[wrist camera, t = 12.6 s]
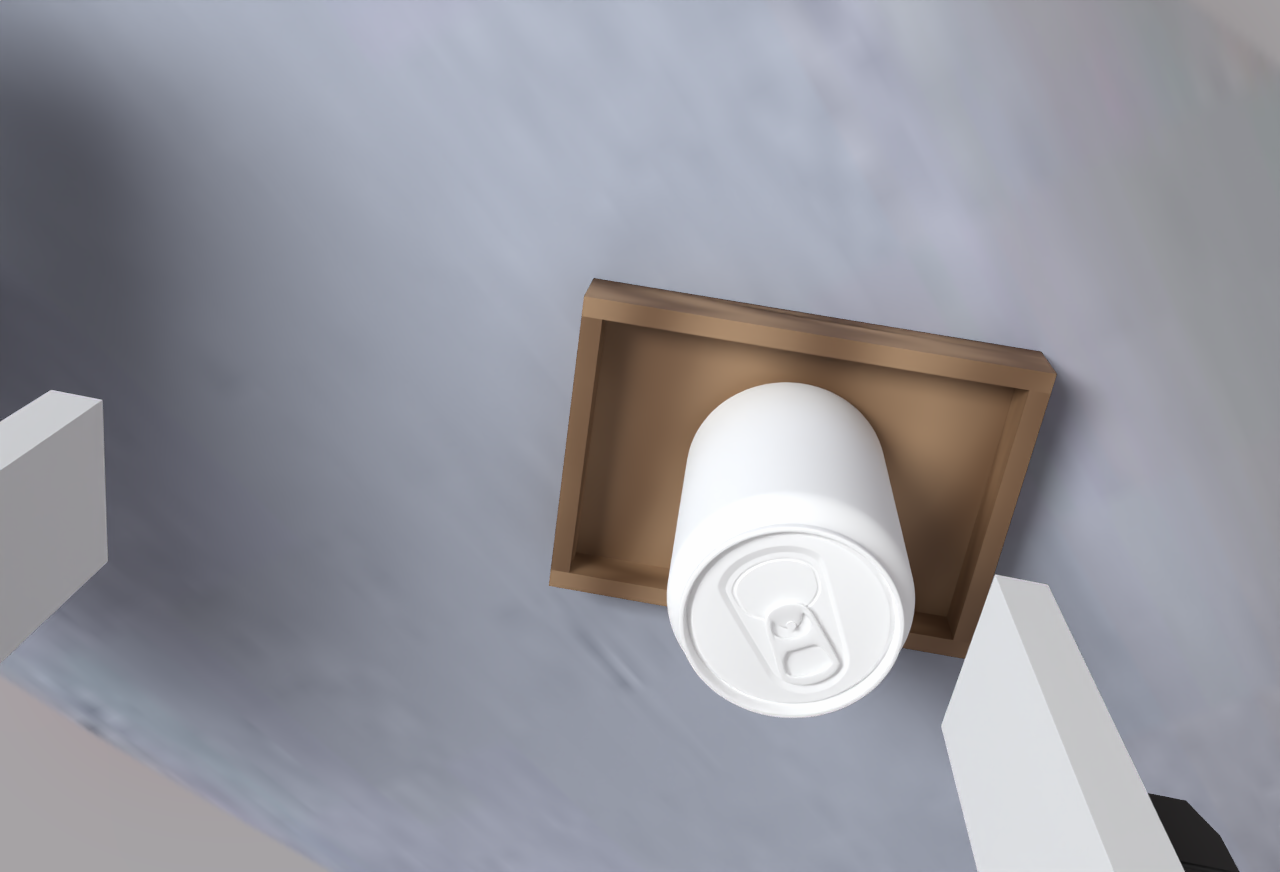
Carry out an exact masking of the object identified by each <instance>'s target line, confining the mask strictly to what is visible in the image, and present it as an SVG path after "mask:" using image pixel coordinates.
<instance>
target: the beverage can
mask: <svg viewBox="0 0 1280 872" xmlns="http://www.w3.org/2000/svg"><path fill="white" fill-rule="evenodd" d="M667 607H668V614H669V619H670V623H671V626H672V629H673V632H674V634H675V637H676V639H677V641H678V643H679V645H680V647H681V648H682V650H683V651H684V653H685V654H686V657H687V659H688V661H689V662H690V664H691V666H692V667H693V669H694V670H695V672H696V673H697V674H698V676H699V677H700V678H701V679H702V680H703V681H704V682H705V683H706V684H707V685H708V686H709V687H710V688H711V689H712V690H713V691H715V692H716V693H717V694H718V695H720V696H721V697H723V698H724V699H726V700H728V701H729V702H731V703H733V704H735V705H737V706H739V707H741V708H744V709H746V710H749V711H752V712H755V713H759V714H763V715H767V716H773V717H781V718H805V717H813V716H819V715H823V714H827V713H831V712H834V711H837V710H840V709H842V708H844V707H847V706H849V705H851V704H853V703H855V702H856V701H858V700H860V699H861V698H863V697H864V696H866V695H867V694H868V693H870V692H871V691H872V690H873V689H874V688H875V687H876V686H878V685H879V684H880V682H881V681H882V680H883V679H884V678H885V677H886V675H887V674H888V673H889V671H890V670H891V668H892V667H893V665H894V663H895V661H896V659H897V657H898V655H899V652H900V651H901V649H902V647H903V645H904V643H905V641H906V639H907V637H908V634H909V631H910V628H911V625H912V621H913V616H914V609H915V589H914V582H913V577H912V573H911V568H910V564H909V560H908V556H907V551H906V547H905V543H904V539H903V535H902V530H901V526H900V522H899V518H898V514H897V509H896V505H895V501H894V497H893V492H892V488H891V484H890V480H889V476H888V471H887V467H886V463H885V459H884V455H883V451H882V447H881V445H880V442H879V439H878V437H877V435H876V433H875V431H874V430H873V428H872V426H871V425H870V423H869V422H868V421H867V419H866V418H865V417H864V416H863V415H862V414H861V413H860V412H859V411H858V410H857V409H856V408H855V407H854V406H853V405H851V404H850V403H849V402H847V401H846V400H845V399H843V398H841V397H840V396H838V395H836V394H834V393H832V392H830V391H827V390H825V389H822V388H819V387H816V386H812V385H808V384H802V383H792V382H780V383H770V384H764V385H760V386H756V387H753V388H750V389H747V390H744V391H742V392H740V393H738V394H736V395H734V396H732V397H731V398H729V399H727V400H726V401H724V402H723V403H722V404H720V405H719V406H718V407H717V408H716V409H715V410H713V411H712V412H711V413H710V414H709V416H708V417H707V418H706V419H705V420H704V422H703V423H702V424H701V426H700V427H699V429H698V431H697V432H696V434H695V436H694V439H693V441H692V443H691V446H690V449H689V453H688V458H687V464H686V470H685V476H684V482H683V489H682V495H681V502H680V508H679V514H678V521H677V527H676V533H675V540H674V546H673V552H672V559H671V565H670V571H669V578H668V585H667Z"/></svg>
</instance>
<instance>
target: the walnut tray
mask: <svg viewBox="0 0 1280 872" xmlns="http://www.w3.org/2000/svg"><path fill="white" fill-rule="evenodd" d="M1056 375H1057V374H1056V372H1055V371H1054V369H1053V368H1052V367H1051V365H1050V364H1049V362H1048V361H1047V359H1046V358H1045V357H1044V355H1043V354H1042V352H1040V351H1034V350H1028V349H1022V348H1016V347H1010V346H1004V345H998V344H992V343H985V342H979V341H973V340H967V339H961V338H955V337H949V336H943V335H937V334H931V333H925V332H918V331H912V330H906V329H900V328H894V327H888V326H882V325H876V324H870V323H864V322H858V321H851V320H845V319H839V318H833V317H827V316H821V315H815V314H809V313H803V312H797V311H791V310H785V309H778V308H772V307H766V306H760V305H754V304H748V303H742V302H736V301H730V300H724V299H718V298H711V297H705V296H699V295H693V294H687V293H681V292H675V291H669V290H663V289H657V288H651V287H645V286H638V285H632V284H626V283H620V282H614V281H608V280H602V279H596V278H594V279H593V281H592V283H591V284H590V286H589V288H588V290H587V292H586V294H585V296H584V301H583V310H582V318H581V326H580V334H579V342H578V351H577V359H576V367H575V375H574V384H573V392H572V400H571V408H570V416H569V425H568V433H567V441H566V449H565V457H564V466H563V474H562V482H561V490H560V499H559V507H558V515H557V523H556V531H555V540H554V548H553V556H552V564H551V572H550V581H549V586H554V587H559V588H565V589H571V590H576V591H582V592H588V593H593V594H599V595H605V596H610V597H616V598H622V599H627V600H633V601H639V602H644V603H650V604H656V605H662V606H667V585H668V578H669V571H670V565H671V559H672V552H673V546H674V540H675V533H676V527H677V521H678V514H679V508H680V502H681V495H682V489H683V482H684V476H685V470H686V464H687V458H688V453H689V449H690V446H691V443H692V441H693V439H694V436H695V434H696V432H697V431H698V429H699V427H700V426H701V424H702V423H703V422H704V420H705V419H706V418H707V417H708V416H709V414H710V413H711V412H712V411H713V410H715V409H716V408H717V407H718V406H719V405H720V404H722V403H723V402H724V401H726V400H727V399H729V398H731V397H732V396H734V395H736V394H738V393H740V392H742V391H744V390H747V389H750V388H753V387H756V386H760V385H764V384H770V383H780V382H792V383H802V384H808V385H812V386H816V387H819V388H822V389H825V390H827V391H830V392H832V393H834V394H836V395H838V396H840V397H841V398H843V399H845V400H846V401H847V402H849V403H850V404H851V405H853V406H854V407H855V408H856V409H857V410H858V411H859V412H860V413H861V414H862V415H863V416H864V417H865V418H866V419H867V421H868V422H869V423H870V425H871V426H872V428H873V430H874V431H875V433H876V435H877V437H878V439H879V442H880V445H881V447H882V451H883V455H884V459H885V463H886V467H887V471H888V476H889V480H890V484H891V488H892V492H893V497H894V501H895V505H896V509H897V514H898V518H899V522H900V526H901V530H902V535H903V539H904V543H905V547H906V551H907V556H908V560H909V564H910V568H911V573H912V577H913V582H914V589H915V609H914V616H913V621H912V625H911V628H910V631H909V634H908V637H907V639H906V641H905V643H904V645H903V647H902V648H906V649H912V650H917V651H923V652H929V653H934V654H940V655H946V656H951V657H957V658H963V659H965V658H966V655H967V652H968V649H969V646H970V644H971V641H972V638H973V635H974V632H975V630H976V627H977V624H978V621H979V618H980V616H981V613H982V610H983V607H984V604H985V601H986V598H987V595H988V592H989V589H990V586H991V582H992V579H993V576H994V573H995V570H996V566H997V563H998V560H999V557H1000V554H1001V551H1002V547H1003V544H1004V541H1005V538H1006V535H1007V531H1008V528H1009V525H1010V522H1011V519H1012V516H1013V512H1014V509H1015V506H1016V503H1017V500H1018V496H1019V493H1020V490H1021V487H1022V484H1023V481H1024V477H1025V474H1026V471H1027V468H1028V465H1029V461H1030V458H1031V455H1032V452H1033V449H1034V445H1035V442H1036V439H1037V436H1038V433H1039V430H1040V426H1041V423H1042V420H1043V417H1044V414H1045V410H1046V407H1047V404H1048V401H1049V398H1050V395H1051V391H1052V388H1053V385H1054V382H1055V379H1056Z"/></svg>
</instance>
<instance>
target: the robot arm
mask: <svg viewBox="0 0 1280 872" xmlns="http://www.w3.org/2000/svg"><path fill="white" fill-rule="evenodd" d="M107 562H108V548H107V518H106V487H105V457H104V427H103V400H101V399H96V398H90V397H85V396H80V395H75V394H70V393H65V392H60V391H55V390H50V391H48V392H47V393H45V394H44V395H42V396H40V397H39V398H37V399H36V400H34V401H32V402H31V403H29V404H28V405H26V406H24V407H23V408H21V409H20V410H18V411H16V412H15V413H13V414H12V415H10V416H8V417H7V418H5V419H4V420H2V421H0V664H1V663H2V662H3V661H4V660H5V659H6V658H7V657H8V656H9V655H10V654H11V653H12V652H13V651H14V650H15V649H16V648H17V647H18V646H20V645H21V644H22V643H23V642H24V641H25V640H26V639H27V638H28V637H29V636H30V635H31V634H32V633H33V632H34V631H35V630H36V629H37V628H38V627H40V626H41V625H42V624H43V623H44V622H45V621H46V620H47V619H48V618H49V617H50V616H51V615H52V614H53V613H54V612H55V611H56V610H57V609H59V608H60V607H61V606H62V605H63V604H64V603H65V602H66V601H67V600H68V599H69V598H70V597H71V596H72V595H73V594H74V593H75V592H76V591H78V590H79V589H80V588H81V587H82V586H83V585H84V584H85V583H86V582H87V581H88V580H89V579H90V578H91V577H92V576H93V575H94V574H95V573H97V572H98V571H99V570H100V569H101V568H102V567H103V566H104V565H105V564H106V563H107ZM941 728H942V732H943V735H944V739H945V743H946V747H947V751H948V755H949V759H950V763H951V767H952V771H953V775H954V779H955V783H956V787H957V791H958V795H959V799H960V803H961V807H962V811H963V815H964V819H965V823H966V827H967V831H968V835H969V839H970V843H971V847H972V851H973V855H974V859H975V863H976V867H977V871H978V872H1239V870H1238V868H1237V866H1236V864H1235V863H1234V861H1233V859H1232V857H1231V855H1230V853H1229V851H1228V850H1227V848H1226V846H1225V844H1224V842H1223V840H1222V838H1221V837H1220V835H1219V834H1218V833H1217V832H1216V831H1215V830H1214V829H1213V828H1212V827H1211V826H1210V825H1209V824H1208V823H1207V822H1206V821H1205V820H1204V819H1203V818H1202V817H1201V816H1200V815H1199V814H1198V813H1197V812H1196V811H1195V810H1194V809H1193V808H1192V806H1191V805H1190V804H1189V803H1188V802H1187V801H1185V800H1180V799H1175V798H1170V797H1165V796H1160V795H1154V794H1149V793H1147V791H1146V789H1145V787H1144V785H1143V783H1142V781H1141V779H1140V777H1139V775H1138V773H1137V770H1136V768H1135V766H1134V764H1133V762H1132V760H1131V758H1130V756H1129V754H1128V752H1127V749H1126V747H1125V745H1124V743H1123V741H1122V739H1121V737H1120V735H1119V733H1118V731H1117V729H1116V726H1115V724H1114V722H1113V720H1112V718H1111V716H1110V714H1109V712H1108V710H1107V708H1106V705H1105V703H1104V701H1103V699H1102V697H1101V695H1100V693H1099V691H1098V689H1097V687H1096V685H1095V682H1094V680H1093V678H1092V676H1091V674H1090V672H1089V670H1088V668H1087V666H1086V664H1085V661H1084V659H1083V657H1082V655H1081V653H1080V651H1079V649H1078V647H1077V645H1076V643H1075V641H1074V638H1073V636H1072V634H1071V632H1070V630H1069V628H1068V626H1067V624H1066V622H1065V620H1064V617H1063V615H1062V613H1061V611H1060V609H1059V607H1058V605H1057V603H1056V601H1055V599H1054V597H1053V594H1052V592H1051V590H1050V588H1049V586H1048V585H1047V584H1042V583H1037V582H1032V581H1026V580H1021V579H1016V578H1011V577H1006V576H1001V575H996V574H995V576H994V579H993V582H992V585H991V588H990V590H989V593H988V596H987V599H986V602H985V604H984V607H983V610H982V613H981V616H980V618H979V621H978V624H977V627H976V630H975V632H974V635H973V638H972V641H971V644H970V646H969V649H968V652H967V655H966V658H965V661H964V663H963V666H962V669H961V672H960V675H959V677H958V680H957V683H956V686H955V689H954V691H953V694H952V697H951V700H950V703H949V705H948V708H947V711H946V714H945V717H944V719H943V722H942V725H941Z"/></svg>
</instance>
